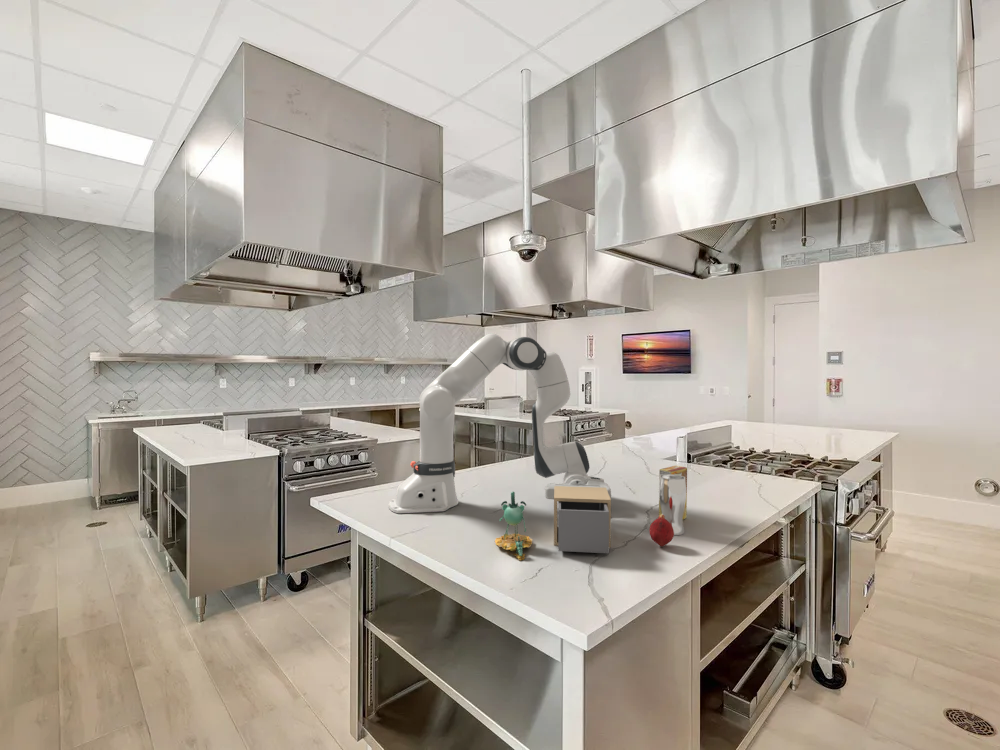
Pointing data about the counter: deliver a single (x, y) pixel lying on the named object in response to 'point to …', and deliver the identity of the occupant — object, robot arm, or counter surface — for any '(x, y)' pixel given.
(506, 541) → the frog figurine
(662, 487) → the beer glass
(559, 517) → the grey open box
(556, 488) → the sleeve
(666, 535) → the onion
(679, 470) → the candy box
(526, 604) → the counter surface
